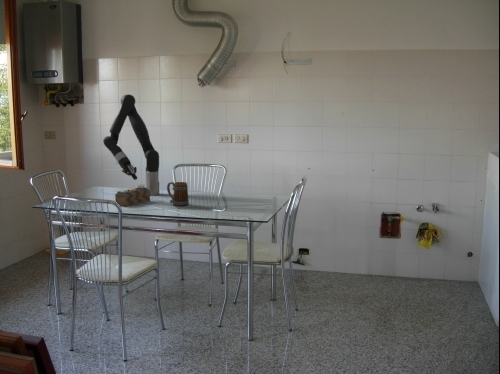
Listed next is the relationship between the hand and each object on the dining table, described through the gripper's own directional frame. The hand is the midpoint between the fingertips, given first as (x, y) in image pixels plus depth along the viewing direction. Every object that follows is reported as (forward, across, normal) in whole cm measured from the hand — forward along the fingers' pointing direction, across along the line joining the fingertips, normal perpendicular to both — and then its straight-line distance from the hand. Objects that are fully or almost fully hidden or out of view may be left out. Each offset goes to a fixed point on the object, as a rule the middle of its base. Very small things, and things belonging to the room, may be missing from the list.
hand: (136, 179), depth 340 cm
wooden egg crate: (+14, -8, +7) cm, 18 cm away
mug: (+33, +5, -12) cm, 36 cm away
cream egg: (+7, 0, +1) cm, 7 cm away
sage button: (+9, -16, +2) cm, 18 cm away
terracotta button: (+8, -8, +2) cm, 12 cm away
